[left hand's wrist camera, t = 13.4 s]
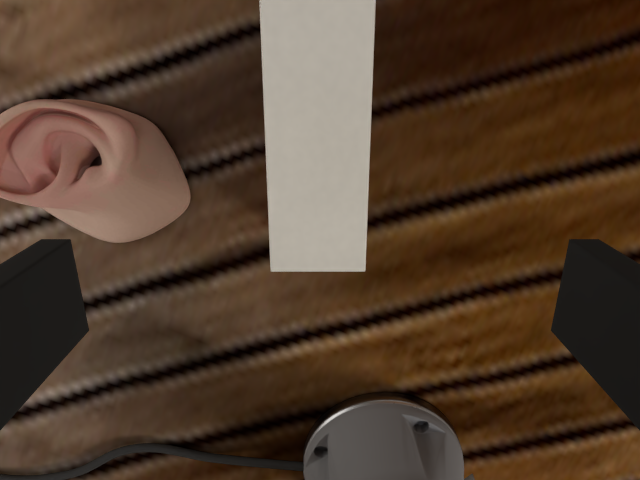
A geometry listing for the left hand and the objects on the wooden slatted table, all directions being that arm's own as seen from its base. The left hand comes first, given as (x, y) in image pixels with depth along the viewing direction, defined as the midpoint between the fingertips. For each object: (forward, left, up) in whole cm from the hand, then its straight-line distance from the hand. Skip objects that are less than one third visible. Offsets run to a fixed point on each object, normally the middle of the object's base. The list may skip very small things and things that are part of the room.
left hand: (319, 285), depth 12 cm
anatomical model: (-17, +3, -24) cm, 29 cm away
